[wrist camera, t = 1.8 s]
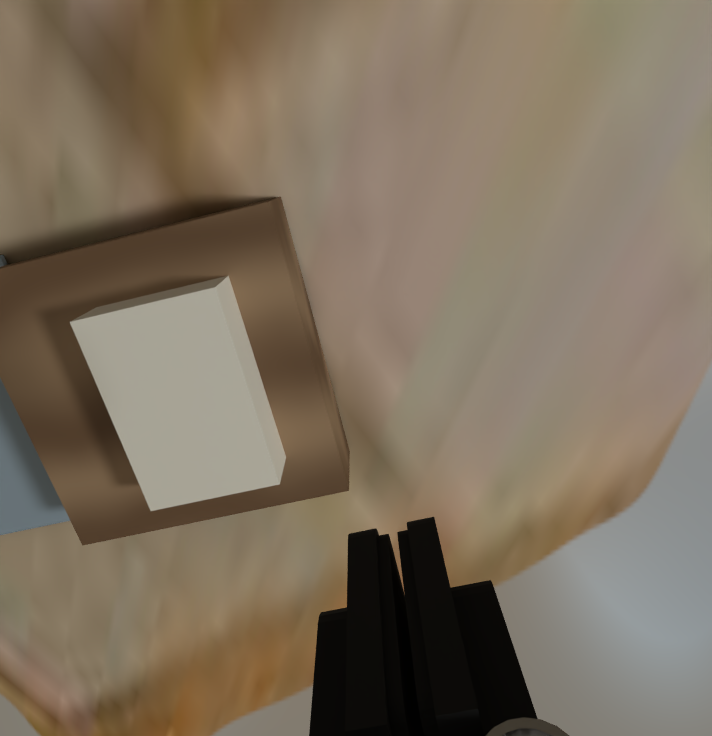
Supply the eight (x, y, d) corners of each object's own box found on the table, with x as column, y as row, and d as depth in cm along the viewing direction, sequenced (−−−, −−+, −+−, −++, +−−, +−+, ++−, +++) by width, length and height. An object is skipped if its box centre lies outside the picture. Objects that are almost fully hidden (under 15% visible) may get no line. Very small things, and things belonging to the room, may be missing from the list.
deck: (7, 264, 27) (-48, 280, 24) (280, 196, 26) (268, 201, 23) (114, 500, 32) (82, 545, 28) (349, 451, 31) (348, 490, 27)
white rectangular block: (96, 307, 24) (69, 321, 22) (228, 275, 24) (215, 287, 21) (167, 482, 27) (150, 511, 25) (286, 457, 27) (279, 484, 24)
